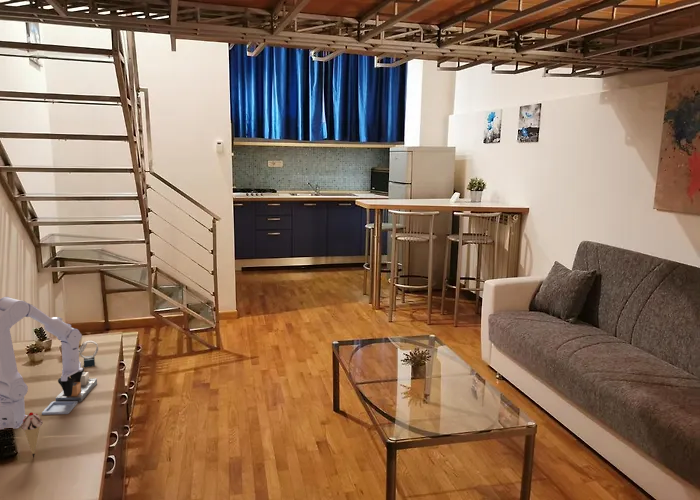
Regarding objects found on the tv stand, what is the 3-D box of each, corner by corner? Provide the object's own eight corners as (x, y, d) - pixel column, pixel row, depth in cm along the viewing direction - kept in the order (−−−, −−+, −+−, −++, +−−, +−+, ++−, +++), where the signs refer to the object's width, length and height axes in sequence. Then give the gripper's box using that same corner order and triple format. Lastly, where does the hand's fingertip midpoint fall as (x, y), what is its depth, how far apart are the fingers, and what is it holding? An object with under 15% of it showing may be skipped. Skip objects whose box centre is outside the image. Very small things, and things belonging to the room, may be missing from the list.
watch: (79, 363, 237) (78, 340, 236) (98, 361, 241) (98, 338, 239) (79, 367, 232) (78, 344, 231) (99, 365, 236) (98, 342, 234)
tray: (68, 414, 190) (68, 411, 189) (41, 415, 188) (41, 412, 188) (77, 403, 198) (77, 400, 198) (52, 404, 197) (52, 401, 197)
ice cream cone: (40, 450, 166) (37, 406, 163) (47, 457, 162) (45, 412, 160) (20, 457, 161) (17, 412, 159) (27, 465, 158) (24, 418, 156)
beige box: (85, 390, 210) (84, 375, 209) (75, 390, 210) (74, 375, 209) (89, 385, 214) (88, 371, 213) (78, 386, 214) (78, 371, 213)
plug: (77, 401, 201) (76, 385, 200) (66, 401, 200) (65, 386, 199) (81, 396, 205) (80, 381, 204) (70, 396, 204) (69, 381, 203)
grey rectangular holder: (81, 403, 199) (81, 396, 199) (55, 403, 198) (55, 397, 197) (97, 383, 217) (97, 378, 216) (74, 384, 215) (73, 378, 215)
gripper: (74, 364, 193) (76, 399, 195) (88, 351, 207) (89, 383, 209) (54, 365, 192) (56, 399, 194) (69, 351, 206) (71, 384, 209)
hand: (72, 391), depth 202 cm, fingers open, 7 cm apart
